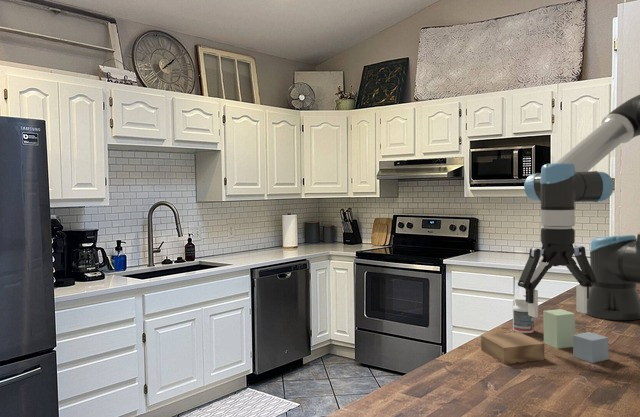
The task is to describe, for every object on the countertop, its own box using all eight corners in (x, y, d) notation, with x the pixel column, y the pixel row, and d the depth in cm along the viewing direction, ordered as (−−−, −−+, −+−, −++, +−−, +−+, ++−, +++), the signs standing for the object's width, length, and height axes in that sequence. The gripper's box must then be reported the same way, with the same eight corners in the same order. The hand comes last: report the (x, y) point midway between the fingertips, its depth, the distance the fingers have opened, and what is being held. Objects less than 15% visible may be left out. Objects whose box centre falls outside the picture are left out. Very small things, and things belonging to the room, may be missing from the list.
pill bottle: (535, 334, 138) (535, 300, 138) (514, 333, 139) (514, 300, 139) (531, 328, 144) (531, 296, 143) (511, 328, 145) (511, 295, 144)
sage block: (561, 340, 132) (560, 309, 132) (575, 346, 127) (574, 313, 127) (543, 342, 131) (543, 310, 131) (557, 348, 126) (556, 315, 126)
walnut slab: (518, 347, 129) (518, 331, 128) (544, 360, 119) (544, 343, 119) (481, 352, 127) (481, 335, 126) (504, 365, 117) (503, 347, 117)
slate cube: (589, 353, 122) (588, 332, 122) (608, 359, 118) (608, 337, 117) (573, 356, 120) (573, 335, 120) (592, 363, 116) (592, 340, 115)
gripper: (590, 224, 134) (590, 307, 135) (502, 228, 129) (503, 314, 129) (613, 226, 127) (612, 314, 128) (521, 230, 121) (521, 321, 122)
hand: (557, 314), depth 129 cm, fingers open, 13 cm apart
